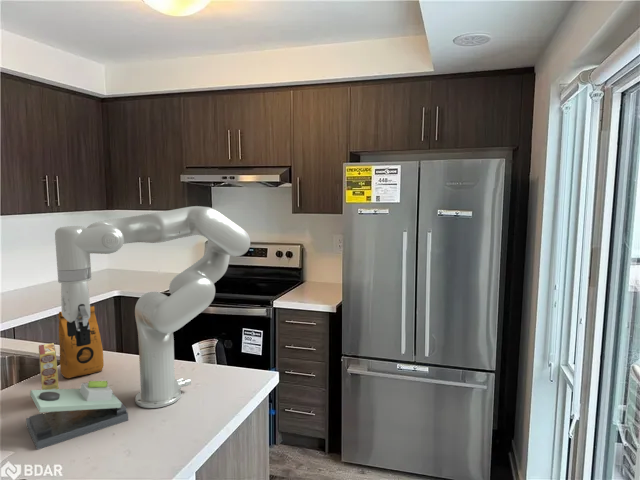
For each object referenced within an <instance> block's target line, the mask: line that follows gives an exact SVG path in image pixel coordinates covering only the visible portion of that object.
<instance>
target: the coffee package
mask: <svg viewBox="0 0 640 480" xmlns="http://www.w3.org/2000/svg"><path fill="white" fill-rule="evenodd" d="M57 318H58V340H59V344H58V345H59V368H60V374H61V375H62V376H63V378H66V379H71V378H76V377H80V376H85V375H91V374H94V373H98V372H102V371H103V369H104V366H105V363H104V349H103V344H102V339H101V338H102V337H101V333H100V330H99V329H100V327H99V325H98V320H97V317H96V313H95V306H94V305H93V306H90V318H89V319H88V322H89V326H90V337H91V344H89V345H84V346H79V347H78V346H77V345H76V336H71V337H69V336H68V335H67V322H69V321H67V320H66V319H65V318H64V317H63V315H62V310H60V311H58V317H57ZM80 318H81V317H80Z"/></svg>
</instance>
